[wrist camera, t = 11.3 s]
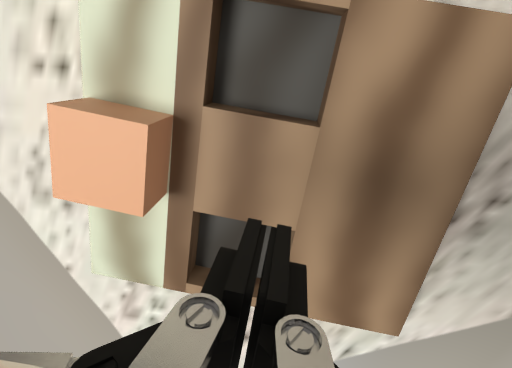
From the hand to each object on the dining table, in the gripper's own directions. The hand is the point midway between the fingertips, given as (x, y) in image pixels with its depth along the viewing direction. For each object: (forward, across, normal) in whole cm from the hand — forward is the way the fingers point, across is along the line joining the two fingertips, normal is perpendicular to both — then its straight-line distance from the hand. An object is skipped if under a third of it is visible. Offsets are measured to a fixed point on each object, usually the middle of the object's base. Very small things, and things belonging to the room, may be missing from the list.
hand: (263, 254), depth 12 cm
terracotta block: (+10, +11, +1) cm, 15 cm away
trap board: (+14, +1, +1) cm, 14 cm away
